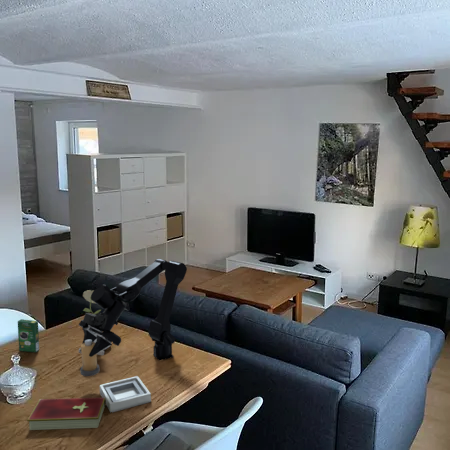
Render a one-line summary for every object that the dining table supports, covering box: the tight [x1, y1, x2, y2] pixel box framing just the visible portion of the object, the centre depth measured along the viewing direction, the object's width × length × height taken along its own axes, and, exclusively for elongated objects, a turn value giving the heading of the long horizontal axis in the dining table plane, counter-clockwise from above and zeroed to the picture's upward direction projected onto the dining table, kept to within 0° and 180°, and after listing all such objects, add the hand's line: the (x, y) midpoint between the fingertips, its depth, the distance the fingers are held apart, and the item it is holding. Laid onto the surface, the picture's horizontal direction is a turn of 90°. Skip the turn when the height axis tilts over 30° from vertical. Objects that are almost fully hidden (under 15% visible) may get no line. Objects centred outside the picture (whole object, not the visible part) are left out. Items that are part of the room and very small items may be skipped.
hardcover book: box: [26, 397, 107, 431], centre depth 148 cm, size 12×21×4 cm, turn 94°
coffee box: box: [17, 319, 40, 353], centre depth 194 cm, size 8×3×13 cm, turn 79°
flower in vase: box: [82, 289, 111, 351], centre depth 196 cm, size 13×11×25 cm
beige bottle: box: [79, 339, 101, 377], centre depth 164 cm, size 6×6×12 cm
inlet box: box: [99, 375, 152, 413], centre depth 160 cm, size 14×14×3 cm
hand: (85, 353), depth 162 cm, fingers closed on beige bottle, 5 cm apart
